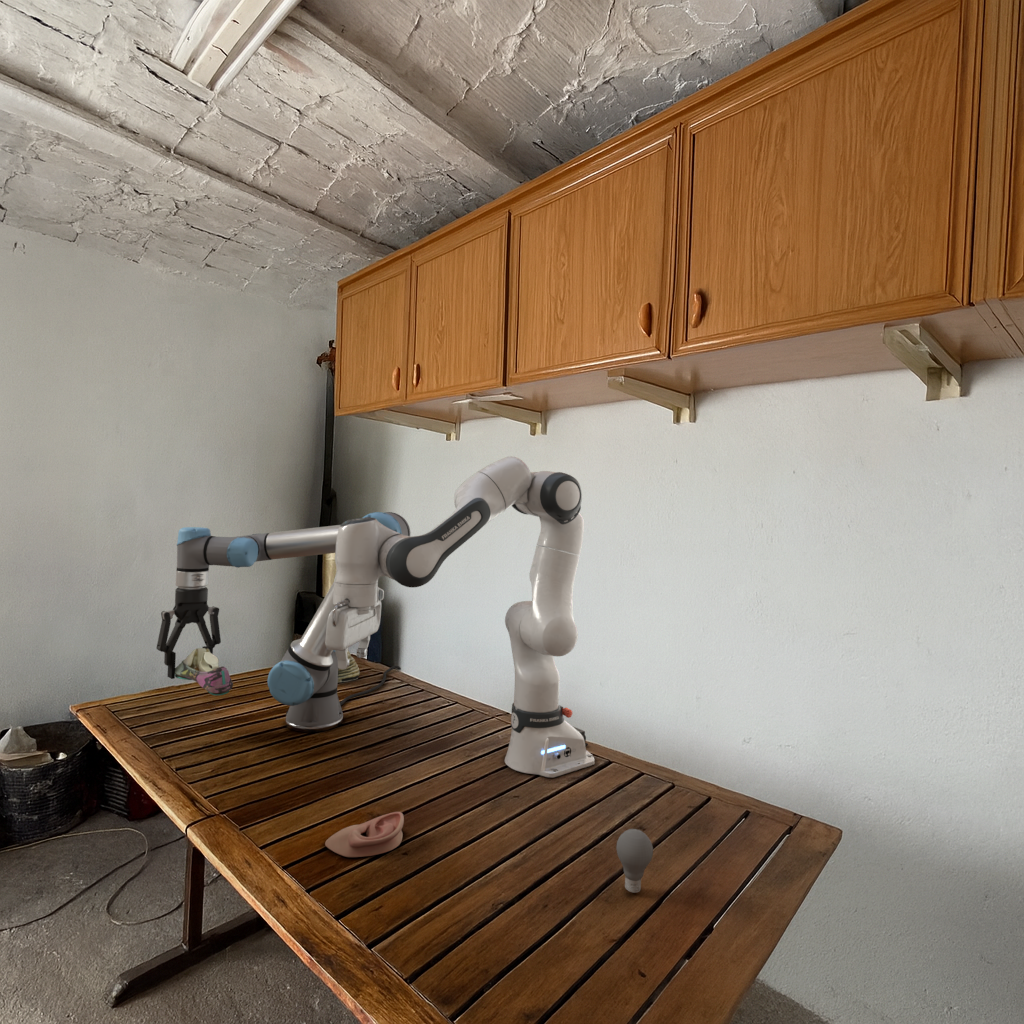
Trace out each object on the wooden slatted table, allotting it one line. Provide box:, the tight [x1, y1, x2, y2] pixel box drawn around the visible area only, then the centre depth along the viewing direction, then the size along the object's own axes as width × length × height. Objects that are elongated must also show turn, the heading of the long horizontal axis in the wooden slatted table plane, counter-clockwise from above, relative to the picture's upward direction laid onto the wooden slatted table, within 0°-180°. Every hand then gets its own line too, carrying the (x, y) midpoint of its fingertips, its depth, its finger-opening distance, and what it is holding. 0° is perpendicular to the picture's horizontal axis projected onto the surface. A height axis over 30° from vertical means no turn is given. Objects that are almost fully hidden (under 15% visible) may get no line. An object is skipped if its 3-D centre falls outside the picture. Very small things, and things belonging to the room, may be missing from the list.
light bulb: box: [615, 828, 654, 894], centre depth 106 cm, size 6×6×10 cm
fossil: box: [338, 649, 361, 683], centre depth 216 cm, size 9×18×15 cm, turn 132°
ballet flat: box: [175, 647, 234, 696], centre depth 159 cm, size 8×24×9 cm, turn 48°
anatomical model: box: [324, 811, 405, 858], centre depth 117 cm, size 13×4×12 cm
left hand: (188, 674), depth 164 cm, fingers closed on ballet flat, 8 cm apart
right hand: (352, 662), depth 131 cm, fingers open, 8 cm apart
